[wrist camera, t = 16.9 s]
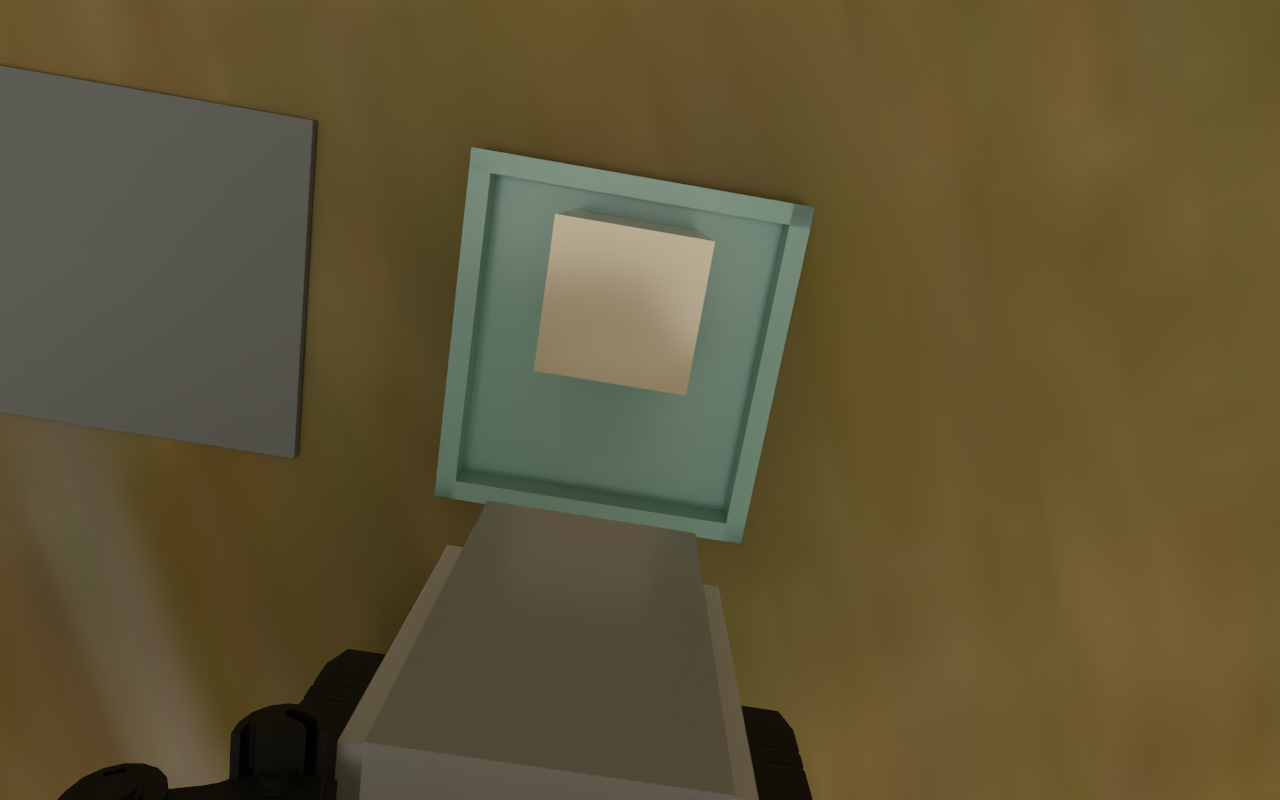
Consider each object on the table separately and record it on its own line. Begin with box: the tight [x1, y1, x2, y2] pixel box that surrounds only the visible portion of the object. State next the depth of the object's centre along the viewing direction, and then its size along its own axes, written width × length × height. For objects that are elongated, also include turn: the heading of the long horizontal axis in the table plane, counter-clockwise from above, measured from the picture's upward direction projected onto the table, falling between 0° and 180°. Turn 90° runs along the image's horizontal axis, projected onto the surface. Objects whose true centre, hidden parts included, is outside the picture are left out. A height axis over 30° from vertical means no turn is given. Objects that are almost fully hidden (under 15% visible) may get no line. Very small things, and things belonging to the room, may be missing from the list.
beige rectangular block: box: [534, 209, 715, 396], centre depth 27 cm, size 5×5×8 cm
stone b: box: [359, 500, 735, 800], centre depth 14 cm, size 5×5×8 cm
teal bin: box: [434, 147, 815, 544], centre depth 32 cm, size 13×14×2 cm
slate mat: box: [0, 66, 317, 458], centre depth 31 cm, size 13×14×1 cm
